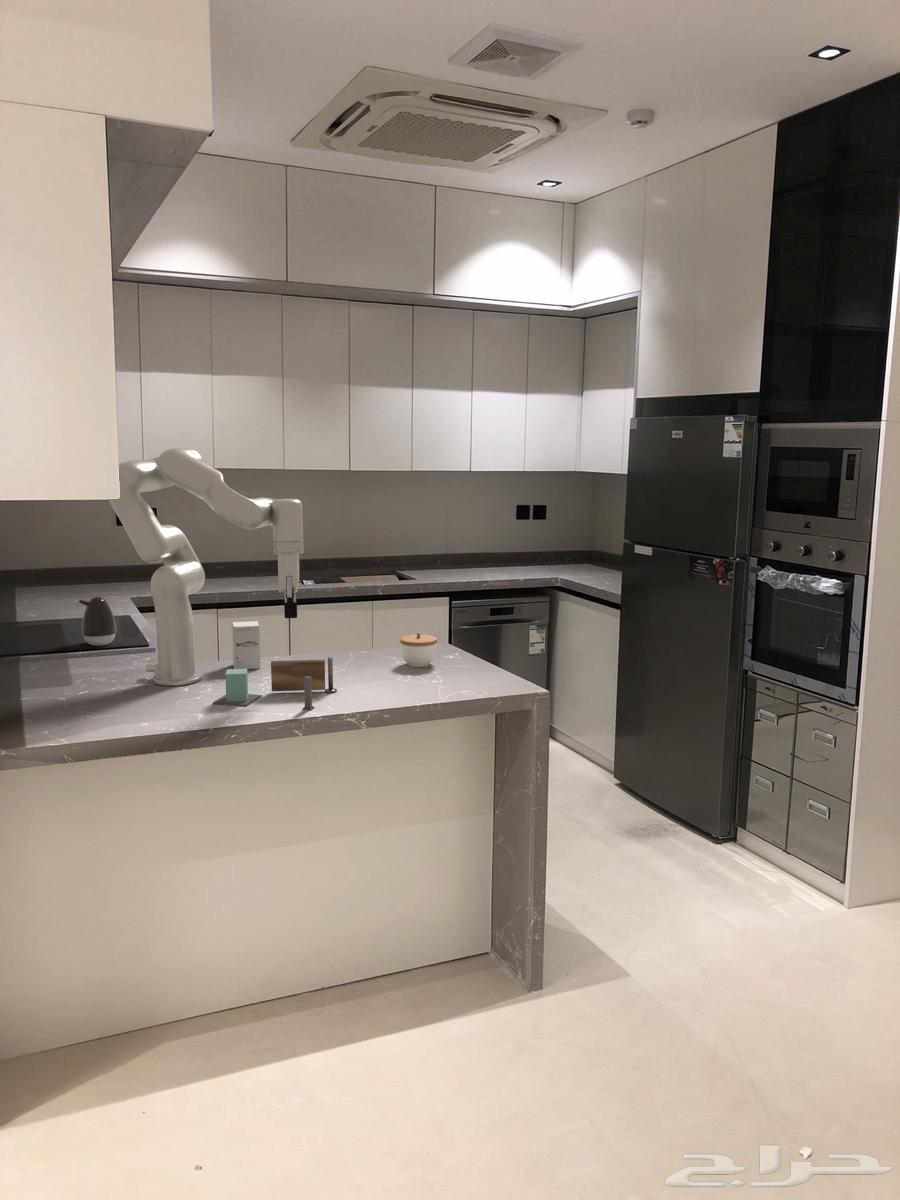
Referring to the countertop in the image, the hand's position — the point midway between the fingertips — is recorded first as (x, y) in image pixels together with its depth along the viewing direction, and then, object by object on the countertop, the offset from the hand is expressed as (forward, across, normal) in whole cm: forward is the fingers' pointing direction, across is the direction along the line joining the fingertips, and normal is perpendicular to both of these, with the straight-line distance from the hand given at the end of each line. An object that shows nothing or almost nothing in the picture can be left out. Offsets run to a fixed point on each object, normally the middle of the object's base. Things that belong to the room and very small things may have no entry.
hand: (291, 617), depth 248 cm
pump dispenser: (+18, -58, -62) cm, 87 cm away
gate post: (+19, +5, +10) cm, 22 cm away
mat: (+19, +11, -14) cm, 25 cm away
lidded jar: (+19, -20, +35) cm, 45 cm away
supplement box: (+19, -23, -14) cm, 33 cm away
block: (+18, +11, -14) cm, 25 cm away
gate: (+18, +5, +2) cm, 19 cm away
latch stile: (+19, +20, +4) cm, 28 cm away
